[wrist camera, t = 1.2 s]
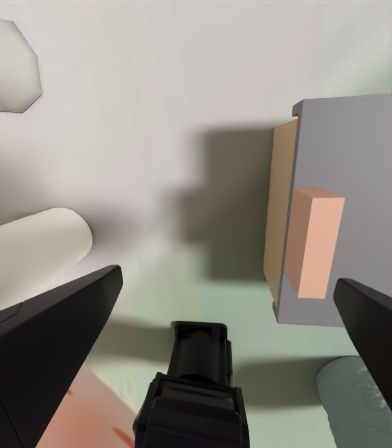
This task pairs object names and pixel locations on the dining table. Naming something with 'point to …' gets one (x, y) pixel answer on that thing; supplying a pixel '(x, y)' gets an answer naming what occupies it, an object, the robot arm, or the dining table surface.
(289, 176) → the base
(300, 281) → the lid
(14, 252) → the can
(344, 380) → the teal cup
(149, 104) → the dining table surface
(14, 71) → the flask
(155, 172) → the dining table surface
